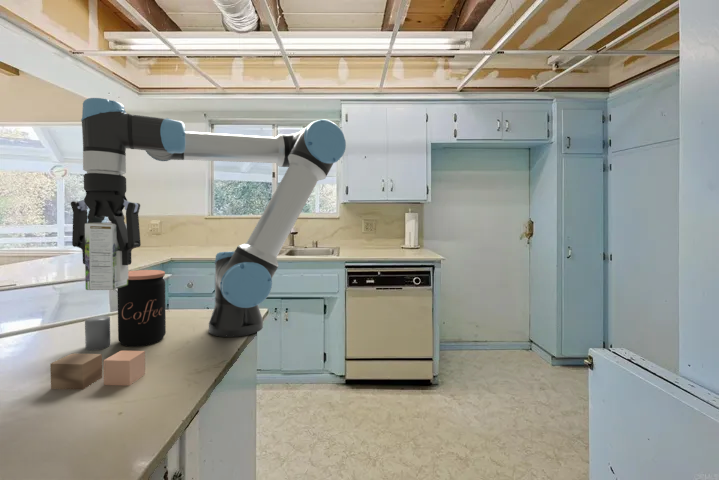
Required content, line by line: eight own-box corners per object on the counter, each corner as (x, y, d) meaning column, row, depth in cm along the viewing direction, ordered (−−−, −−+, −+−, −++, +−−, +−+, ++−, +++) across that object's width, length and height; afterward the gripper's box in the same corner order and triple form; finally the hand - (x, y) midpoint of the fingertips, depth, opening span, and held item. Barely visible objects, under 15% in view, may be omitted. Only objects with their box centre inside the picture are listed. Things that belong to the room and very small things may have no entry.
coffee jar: (115, 350, 85) (113, 277, 84) (121, 336, 95) (120, 270, 94) (165, 344, 90) (164, 274, 89) (166, 331, 100) (165, 269, 98)
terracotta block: (145, 374, 73) (145, 351, 73) (129, 385, 68) (129, 360, 68) (121, 373, 73) (120, 350, 73) (103, 385, 68) (103, 360, 68)
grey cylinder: (115, 343, 90) (114, 316, 89) (100, 350, 85) (100, 322, 84) (95, 342, 90) (95, 316, 89) (80, 350, 85) (79, 321, 84)
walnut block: (102, 378, 71) (101, 354, 71) (82, 390, 66) (82, 364, 66) (72, 377, 71) (72, 353, 71) (51, 389, 66) (50, 363, 66)
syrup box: (102, 285, 80) (100, 222, 79) (129, 285, 80) (128, 222, 80) (85, 290, 74) (82, 222, 73) (114, 290, 75) (112, 222, 74)
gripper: (158, 177, 80) (160, 277, 81) (75, 175, 80) (78, 275, 81) (138, 172, 72) (140, 283, 74) (46, 170, 72) (49, 281, 73)
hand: (107, 279), depth 77 cm, fingers closed on syrup box, 6 cm apart
